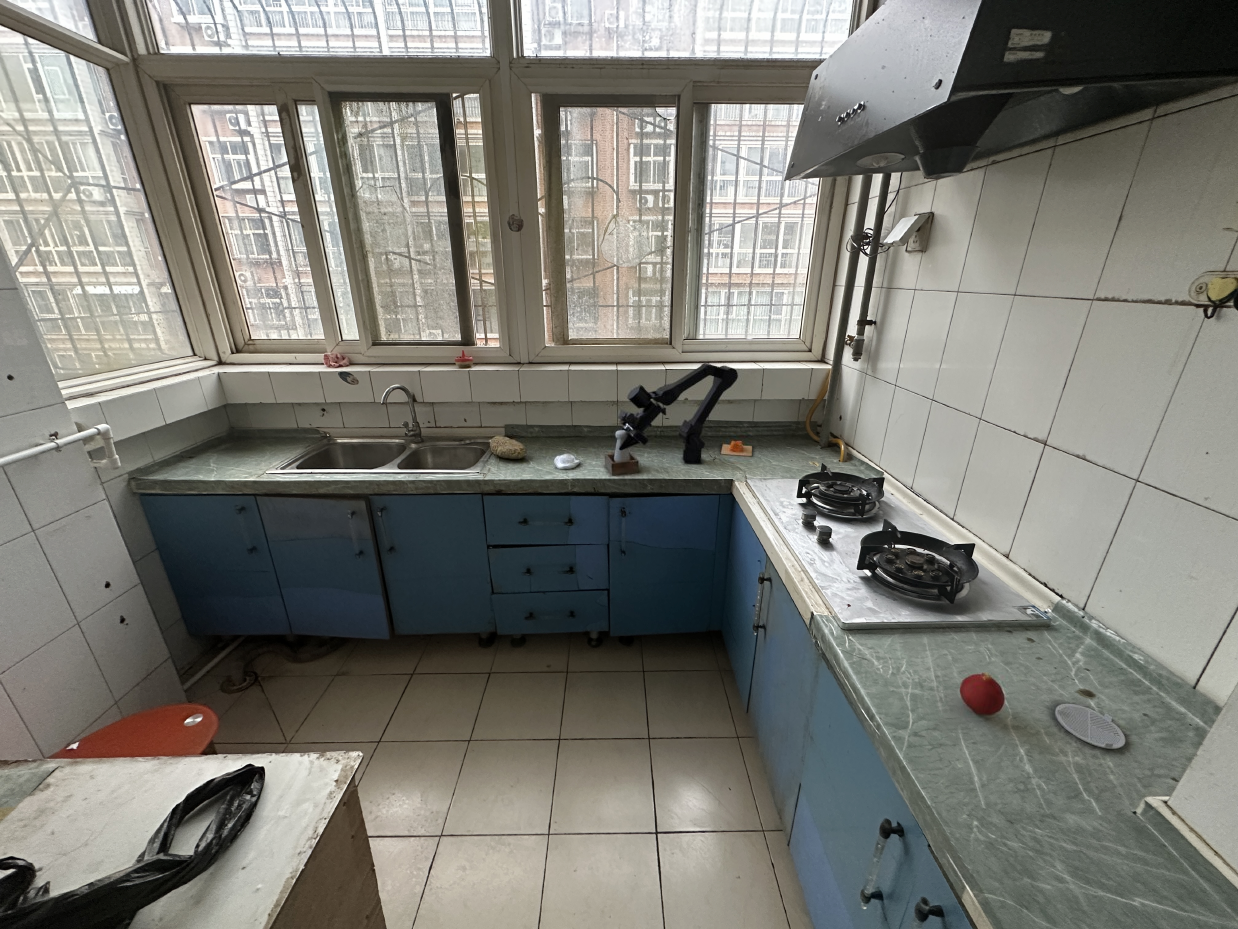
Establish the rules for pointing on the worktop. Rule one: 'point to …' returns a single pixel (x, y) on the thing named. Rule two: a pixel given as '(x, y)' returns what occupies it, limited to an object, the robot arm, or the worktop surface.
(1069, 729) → the drain cover
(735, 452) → the board with orange mound
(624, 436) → the salt shaker
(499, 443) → the tan oval lump
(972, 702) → the onion
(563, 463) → the white lumpy mound
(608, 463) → the box
